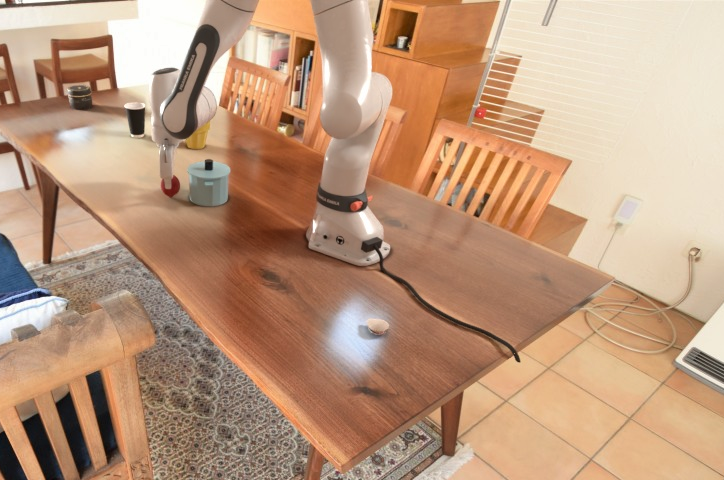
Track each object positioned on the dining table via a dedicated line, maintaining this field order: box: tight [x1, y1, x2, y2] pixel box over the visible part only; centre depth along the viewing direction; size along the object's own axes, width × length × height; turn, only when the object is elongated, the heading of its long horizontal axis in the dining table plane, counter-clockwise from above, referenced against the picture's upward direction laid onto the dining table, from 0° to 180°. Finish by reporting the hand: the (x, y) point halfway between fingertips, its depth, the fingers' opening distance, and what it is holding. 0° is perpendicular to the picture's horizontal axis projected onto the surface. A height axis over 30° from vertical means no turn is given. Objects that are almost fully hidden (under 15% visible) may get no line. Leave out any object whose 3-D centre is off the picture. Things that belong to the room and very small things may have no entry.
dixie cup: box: [123, 101, 147, 139], centre depth 185 cm, size 8×8×11 cm
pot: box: [188, 173, 230, 207], centre depth 146 cm, size 12×17×8 cm
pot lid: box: [186, 158, 231, 179], centre depth 142 cm, size 13×13×4 cm
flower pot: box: [185, 120, 211, 150], centre depth 178 cm, size 10×10×10 cm
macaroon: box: [366, 318, 390, 336], centre depth 102 cm, size 4×5×2 cm
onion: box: [160, 174, 181, 198], centre depth 146 cm, size 6×6×8 cm
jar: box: [66, 84, 93, 111], centre depth 213 cm, size 10×10×8 cm
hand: (169, 181), depth 145 cm, fingers open, 8 cm apart
